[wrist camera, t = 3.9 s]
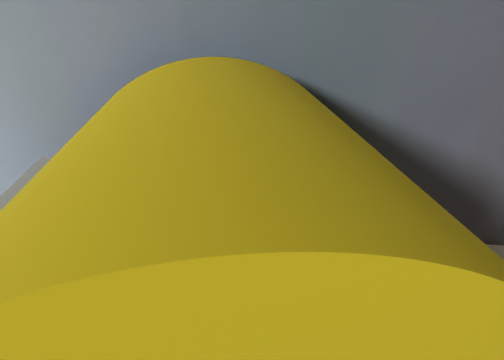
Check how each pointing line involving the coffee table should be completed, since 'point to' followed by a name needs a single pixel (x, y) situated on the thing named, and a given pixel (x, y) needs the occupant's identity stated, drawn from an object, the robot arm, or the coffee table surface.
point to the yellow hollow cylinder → (236, 236)
